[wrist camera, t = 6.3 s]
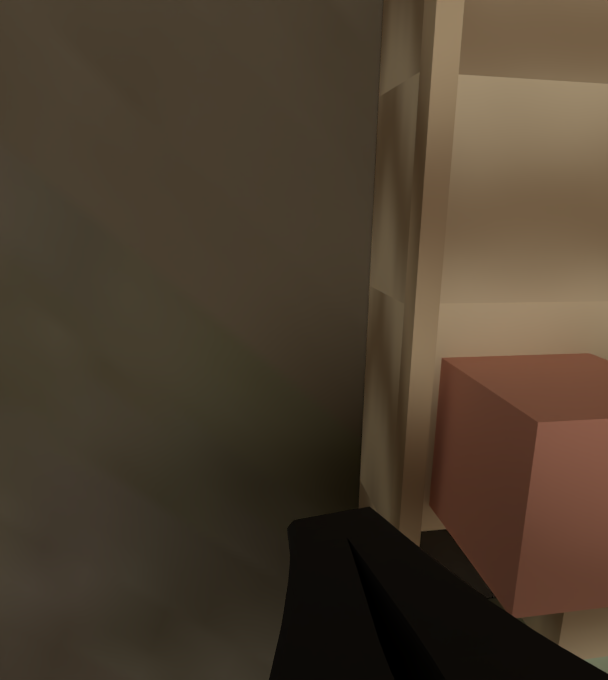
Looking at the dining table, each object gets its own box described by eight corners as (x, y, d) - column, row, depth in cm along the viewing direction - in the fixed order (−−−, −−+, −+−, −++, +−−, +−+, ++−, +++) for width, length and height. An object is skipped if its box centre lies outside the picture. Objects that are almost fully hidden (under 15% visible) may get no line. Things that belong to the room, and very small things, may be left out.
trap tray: (384, -28, 14) (475, -147, 9) (782, 10, 16) (1024, -70, 11) (348, 720, 20) (391, 882, 15) (640, 677, 22) (759, 808, 17)
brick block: (441, 357, 14) (537, 422, 10) (589, 353, 14) (736, 411, 10) (428, 505, 15) (511, 618, 11) (567, 494, 15) (693, 596, 11)
